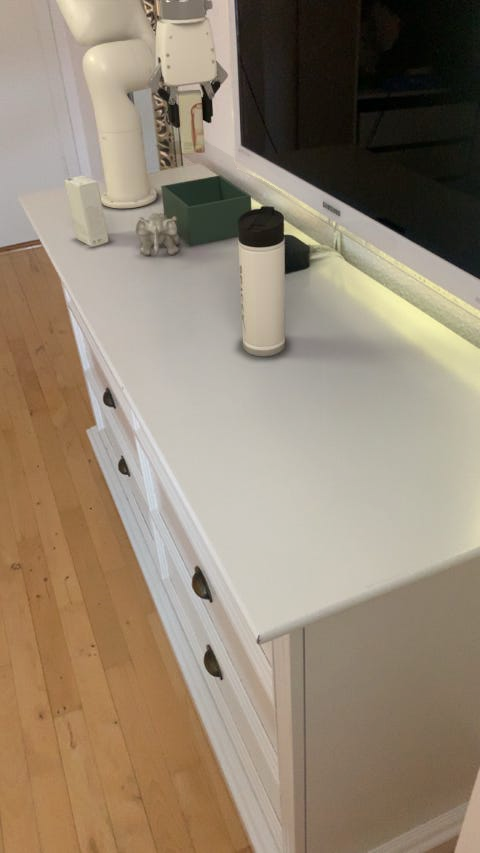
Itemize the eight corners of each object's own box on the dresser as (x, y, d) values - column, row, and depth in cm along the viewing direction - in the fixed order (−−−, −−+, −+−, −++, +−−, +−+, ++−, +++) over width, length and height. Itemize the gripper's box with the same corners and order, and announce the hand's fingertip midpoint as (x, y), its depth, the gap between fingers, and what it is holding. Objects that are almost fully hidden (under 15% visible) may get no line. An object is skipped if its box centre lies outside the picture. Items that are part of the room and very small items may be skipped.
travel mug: (290, 337, 106) (290, 207, 94) (278, 359, 101) (276, 225, 89) (251, 332, 108) (246, 203, 96) (237, 354, 103) (230, 221, 91)
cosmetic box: (110, 242, 140) (100, 180, 132) (90, 248, 138) (79, 186, 130) (94, 233, 144) (84, 173, 136) (75, 239, 141) (63, 179, 134)
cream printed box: (205, 153, 130) (201, 94, 124) (181, 154, 130) (176, 96, 124) (204, 145, 134) (200, 88, 128) (181, 146, 134) (176, 89, 128)
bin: (164, 221, 148) (161, 185, 143) (222, 210, 152) (220, 175, 147) (191, 246, 136) (187, 208, 132) (252, 233, 140) (251, 195, 136)
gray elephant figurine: (176, 240, 139) (172, 201, 134) (195, 262, 130) (192, 221, 125) (131, 248, 137) (125, 209, 132) (147, 271, 128) (142, 231, 123)
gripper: (221, 4, 124) (226, 113, 135) (127, 13, 119) (140, 125, 130) (238, 8, 118) (241, 121, 129) (141, 17, 113) (153, 135, 124)
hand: (191, 122), depth 129 cm, fingers closed on cream printed box, 5 cm apart
